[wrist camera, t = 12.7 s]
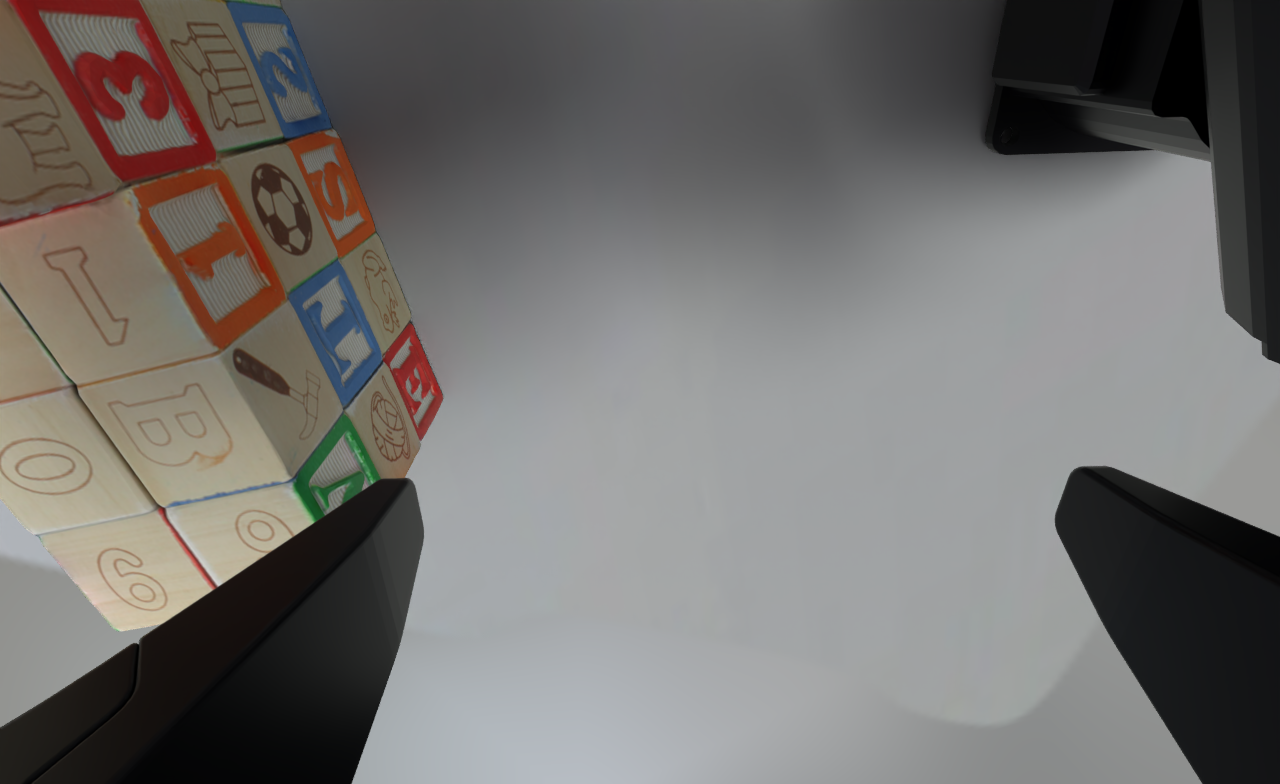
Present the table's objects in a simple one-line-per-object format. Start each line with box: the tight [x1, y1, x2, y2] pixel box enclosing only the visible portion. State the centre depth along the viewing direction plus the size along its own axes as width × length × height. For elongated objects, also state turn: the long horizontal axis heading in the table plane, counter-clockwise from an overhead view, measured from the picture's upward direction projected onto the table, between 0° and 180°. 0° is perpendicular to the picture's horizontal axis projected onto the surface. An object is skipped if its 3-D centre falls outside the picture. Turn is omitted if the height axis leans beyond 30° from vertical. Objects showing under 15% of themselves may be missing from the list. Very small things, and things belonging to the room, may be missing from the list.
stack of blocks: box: [0, 0, 443, 632], centre depth 13 cm, size 21×6×12 cm, turn 13°
